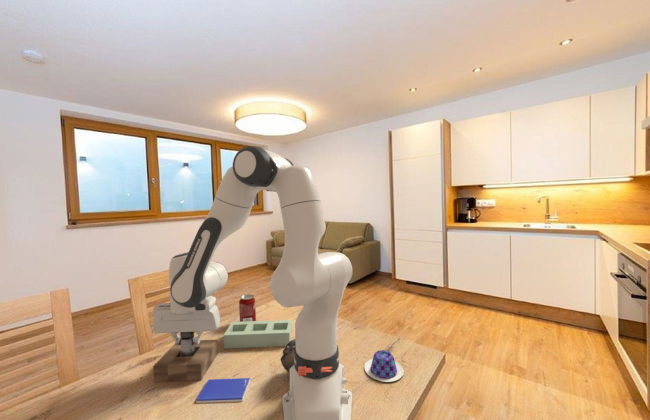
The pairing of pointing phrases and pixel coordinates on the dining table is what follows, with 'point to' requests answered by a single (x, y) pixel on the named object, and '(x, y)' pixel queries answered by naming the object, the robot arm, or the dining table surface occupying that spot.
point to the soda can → (247, 308)
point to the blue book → (224, 390)
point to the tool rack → (258, 334)
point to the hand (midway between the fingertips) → (187, 343)
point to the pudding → (383, 367)
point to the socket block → (186, 363)
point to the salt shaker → (187, 344)
